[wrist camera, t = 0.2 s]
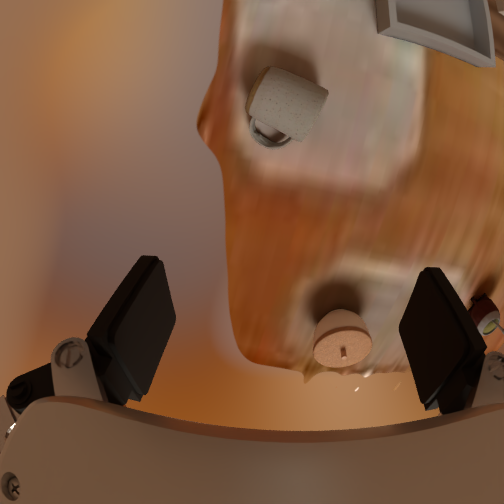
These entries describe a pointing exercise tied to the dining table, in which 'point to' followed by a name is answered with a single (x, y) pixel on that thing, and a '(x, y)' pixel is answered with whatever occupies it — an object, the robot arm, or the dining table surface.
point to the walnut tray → (497, 28)
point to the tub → (441, 26)
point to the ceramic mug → (284, 105)
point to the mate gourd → (485, 315)
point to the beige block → (500, 6)
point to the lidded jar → (341, 339)
